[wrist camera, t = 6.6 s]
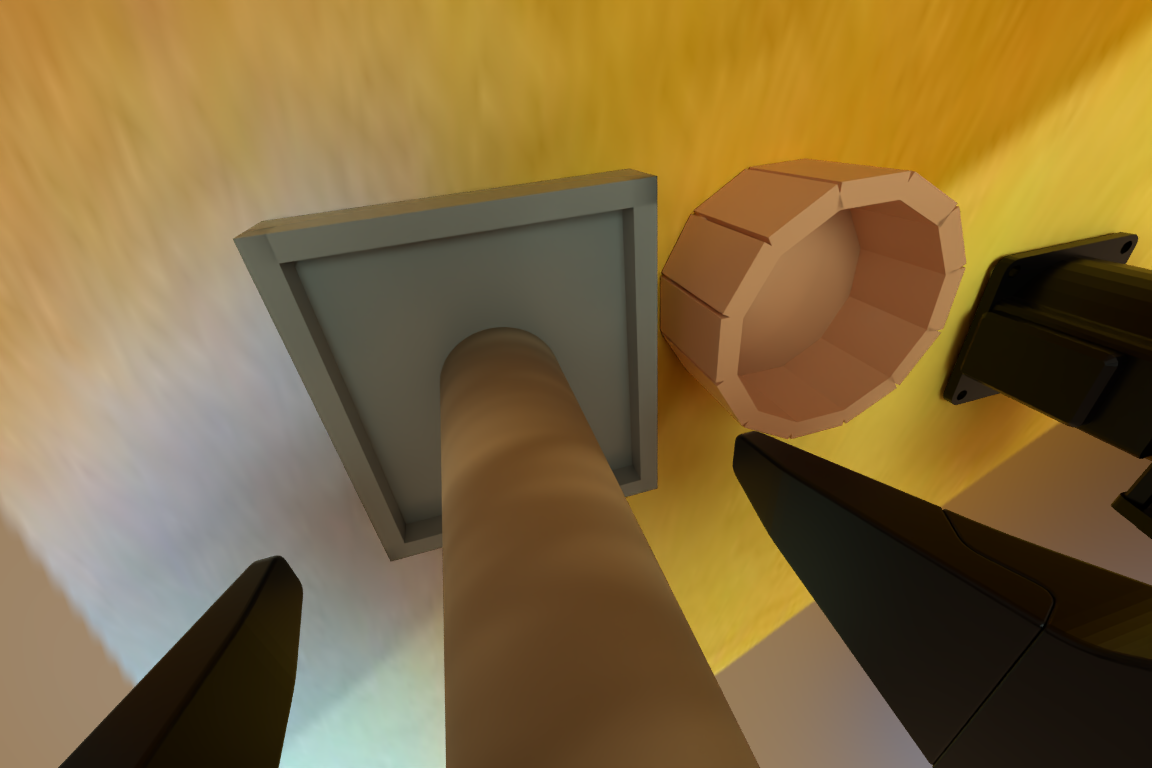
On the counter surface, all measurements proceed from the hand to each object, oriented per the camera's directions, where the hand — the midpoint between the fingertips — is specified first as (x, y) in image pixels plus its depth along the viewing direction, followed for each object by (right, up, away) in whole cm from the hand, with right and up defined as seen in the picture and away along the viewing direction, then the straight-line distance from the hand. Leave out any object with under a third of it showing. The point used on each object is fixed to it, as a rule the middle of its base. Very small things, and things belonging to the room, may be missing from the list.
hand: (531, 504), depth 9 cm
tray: (-2, +3, +5) cm, 6 cm away
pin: (-1, +2, +4) cm, 5 cm away
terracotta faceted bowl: (+7, +6, +6) cm, 11 cm away
